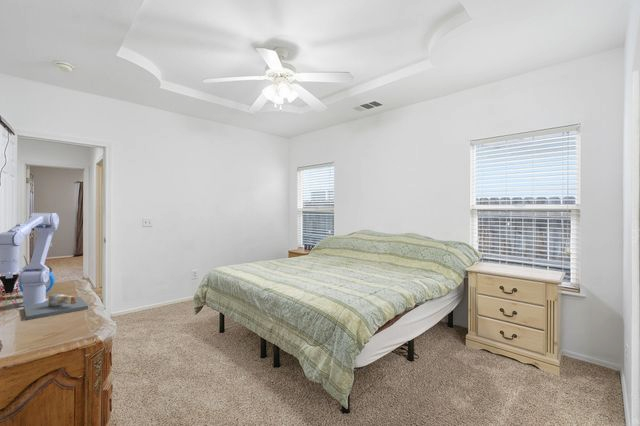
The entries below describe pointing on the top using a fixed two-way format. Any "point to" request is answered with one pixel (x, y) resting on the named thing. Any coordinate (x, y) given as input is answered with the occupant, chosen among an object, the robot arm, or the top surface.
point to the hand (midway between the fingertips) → (9, 292)
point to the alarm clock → (48, 283)
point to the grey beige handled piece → (61, 300)
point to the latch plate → (52, 309)
